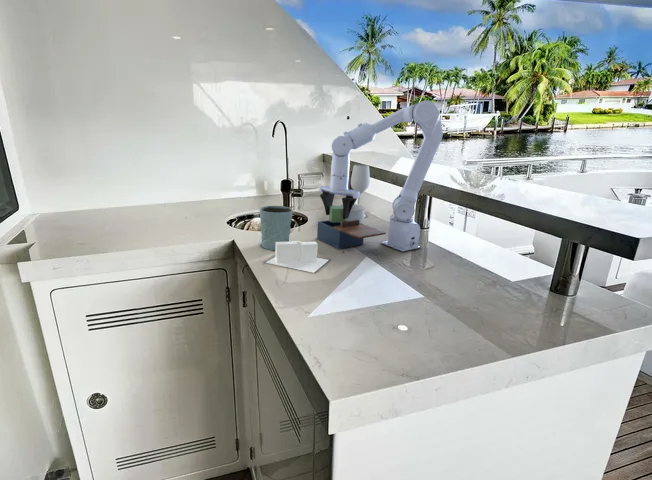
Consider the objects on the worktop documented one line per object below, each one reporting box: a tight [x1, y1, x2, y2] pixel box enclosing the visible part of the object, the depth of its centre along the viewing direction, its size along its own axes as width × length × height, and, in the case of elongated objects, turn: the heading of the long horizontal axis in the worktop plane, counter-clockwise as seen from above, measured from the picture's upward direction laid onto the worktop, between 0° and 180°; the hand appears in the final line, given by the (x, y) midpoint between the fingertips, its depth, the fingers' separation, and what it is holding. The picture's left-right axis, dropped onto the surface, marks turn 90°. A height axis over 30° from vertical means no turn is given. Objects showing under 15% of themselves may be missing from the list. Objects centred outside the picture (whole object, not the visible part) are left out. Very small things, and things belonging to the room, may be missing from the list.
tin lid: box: [333, 219, 387, 239], centre depth 117 cm, size 12×10×2 cm
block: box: [328, 205, 345, 223], centre depth 125 cm, size 5×5×5 cm
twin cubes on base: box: [265, 240, 329, 274], centre depth 107 cm, size 15×11×6 cm
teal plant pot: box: [259, 205, 294, 251], centre depth 119 cm, size 10×10×12 cm
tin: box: [316, 219, 364, 250], centre depth 126 cm, size 12×10×6 cm
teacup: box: [337, 203, 366, 224], centre depth 144 cm, size 14×11×8 cm
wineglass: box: [350, 164, 371, 218], centre depth 157 cm, size 8×8×21 cm
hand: (337, 216), depth 126 cm, fingers closed on block, 6 cm apart
